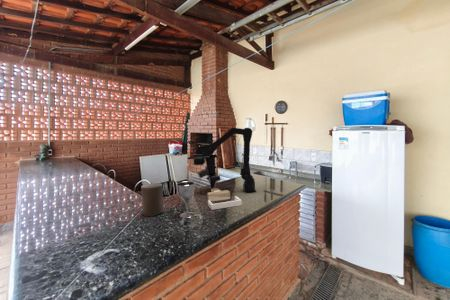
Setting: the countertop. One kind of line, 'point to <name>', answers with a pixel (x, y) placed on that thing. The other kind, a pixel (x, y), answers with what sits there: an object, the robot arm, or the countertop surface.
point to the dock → (225, 204)
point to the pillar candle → (152, 199)
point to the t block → (218, 195)
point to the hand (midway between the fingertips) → (212, 189)
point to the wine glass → (186, 196)
